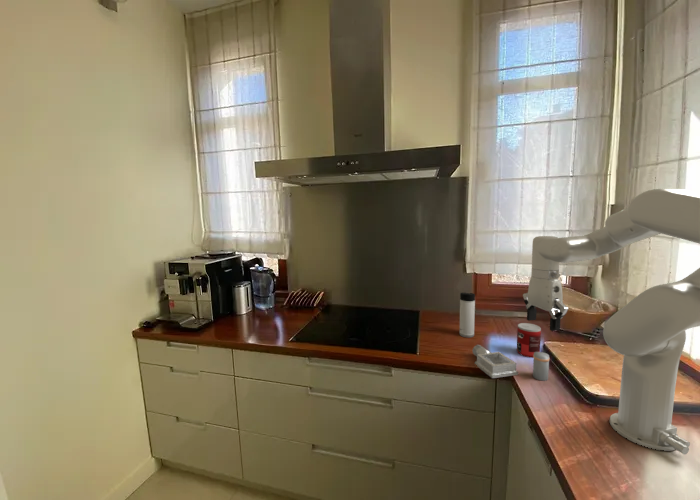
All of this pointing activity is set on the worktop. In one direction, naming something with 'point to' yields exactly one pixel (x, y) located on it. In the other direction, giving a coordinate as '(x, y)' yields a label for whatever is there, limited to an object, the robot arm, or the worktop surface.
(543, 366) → the canister
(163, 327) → the worktop surface
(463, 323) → the travel mug
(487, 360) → the fitting
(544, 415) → the worktop surface
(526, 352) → the canned food
